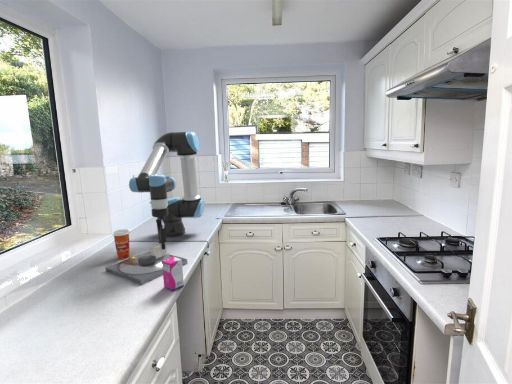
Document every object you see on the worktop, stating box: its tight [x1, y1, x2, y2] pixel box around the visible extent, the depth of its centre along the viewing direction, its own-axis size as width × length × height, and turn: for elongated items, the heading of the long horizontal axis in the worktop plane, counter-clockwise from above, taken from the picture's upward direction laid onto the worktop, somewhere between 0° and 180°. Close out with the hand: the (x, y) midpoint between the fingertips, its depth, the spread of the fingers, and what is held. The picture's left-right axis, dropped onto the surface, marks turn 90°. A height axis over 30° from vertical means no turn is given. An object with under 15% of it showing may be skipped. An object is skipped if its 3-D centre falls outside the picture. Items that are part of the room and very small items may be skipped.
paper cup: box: [112, 228, 131, 260], centre depth 152 cm, size 8×8×14 cm
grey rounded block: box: [138, 245, 162, 266], centre depth 142 cm, size 15×8×6 cm, turn 149°
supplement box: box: [162, 257, 185, 292], centre depth 119 cm, size 6×6×12 cm
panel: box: [104, 250, 188, 286], centre depth 139 cm, size 26×26×3 cm
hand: (163, 255), depth 144 cm, fingers closed
